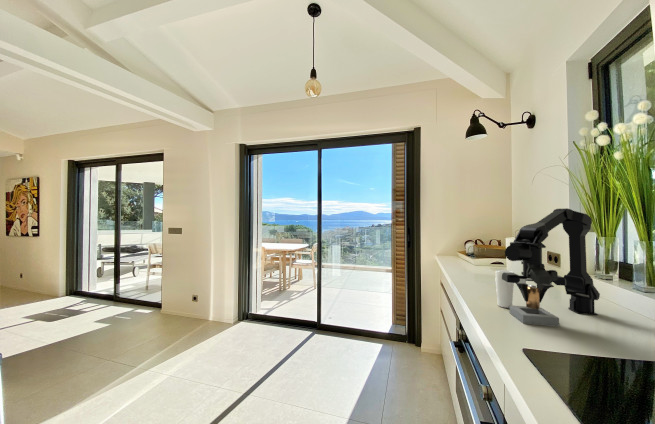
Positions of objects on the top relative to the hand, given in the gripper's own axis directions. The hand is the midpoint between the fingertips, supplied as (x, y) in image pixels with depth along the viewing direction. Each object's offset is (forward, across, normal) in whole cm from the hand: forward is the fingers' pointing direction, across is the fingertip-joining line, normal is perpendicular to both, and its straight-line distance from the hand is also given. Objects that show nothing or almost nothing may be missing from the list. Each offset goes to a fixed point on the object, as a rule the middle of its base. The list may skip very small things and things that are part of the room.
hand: (532, 301), depth 99 cm
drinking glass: (+7, -4, +14) cm, 16 cm away
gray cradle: (+6, 0, 0) cm, 7 cm away
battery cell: (+2, 0, 0) cm, 2 cm away
